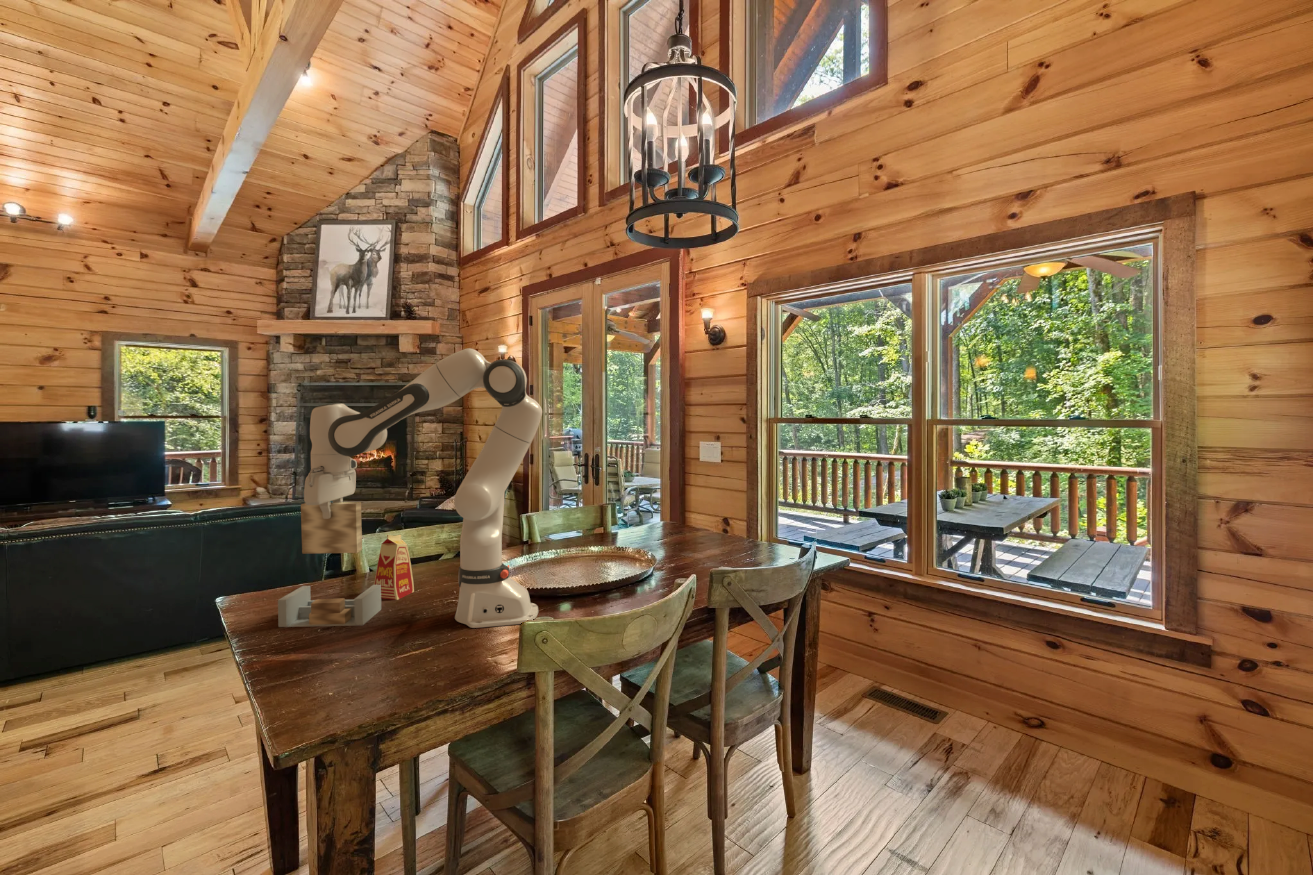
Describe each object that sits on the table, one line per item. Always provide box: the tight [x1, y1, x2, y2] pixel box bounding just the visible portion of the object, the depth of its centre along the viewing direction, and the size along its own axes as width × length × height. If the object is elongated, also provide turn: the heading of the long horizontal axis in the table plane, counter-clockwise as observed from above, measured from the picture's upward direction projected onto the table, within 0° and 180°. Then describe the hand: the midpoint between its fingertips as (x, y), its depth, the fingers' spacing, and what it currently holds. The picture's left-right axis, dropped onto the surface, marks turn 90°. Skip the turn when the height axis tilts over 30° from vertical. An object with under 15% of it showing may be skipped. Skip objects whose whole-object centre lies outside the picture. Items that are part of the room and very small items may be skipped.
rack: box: [277, 584, 382, 628], centre depth 155 cm, size 21×12×8 cm, turn 94°
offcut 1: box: [311, 597, 346, 614], centre depth 152 cm, size 7×3×3 cm, turn 98°
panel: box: [300, 501, 363, 554], centre depth 153 cm, size 14×3×13 cm, turn 94°
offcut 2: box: [309, 609, 351, 625], centre depth 153 cm, size 9×4×3 cm, turn 94°
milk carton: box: [373, 534, 415, 601], centre depth 175 cm, size 9×9×20 cm
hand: (331, 516), depth 153 cm, fingers closed on panel, 3 cm apart
